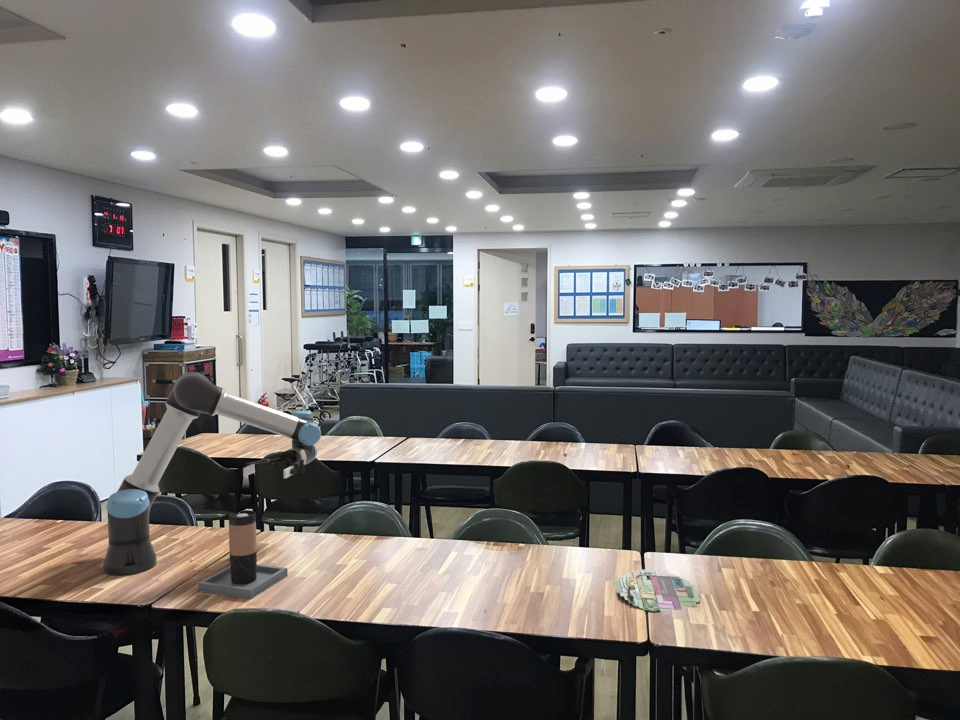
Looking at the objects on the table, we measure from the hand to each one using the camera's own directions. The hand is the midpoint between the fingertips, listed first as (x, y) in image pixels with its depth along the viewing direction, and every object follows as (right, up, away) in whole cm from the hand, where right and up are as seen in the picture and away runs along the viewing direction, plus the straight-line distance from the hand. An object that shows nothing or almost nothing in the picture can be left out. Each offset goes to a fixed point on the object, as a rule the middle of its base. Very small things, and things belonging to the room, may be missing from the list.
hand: (264, 473), depth 224 cm
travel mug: (-1, -29, -16) cm, 33 cm away
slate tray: (-1, -30, -16) cm, 34 cm away
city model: (+118, -31, -26) cm, 125 cm away
